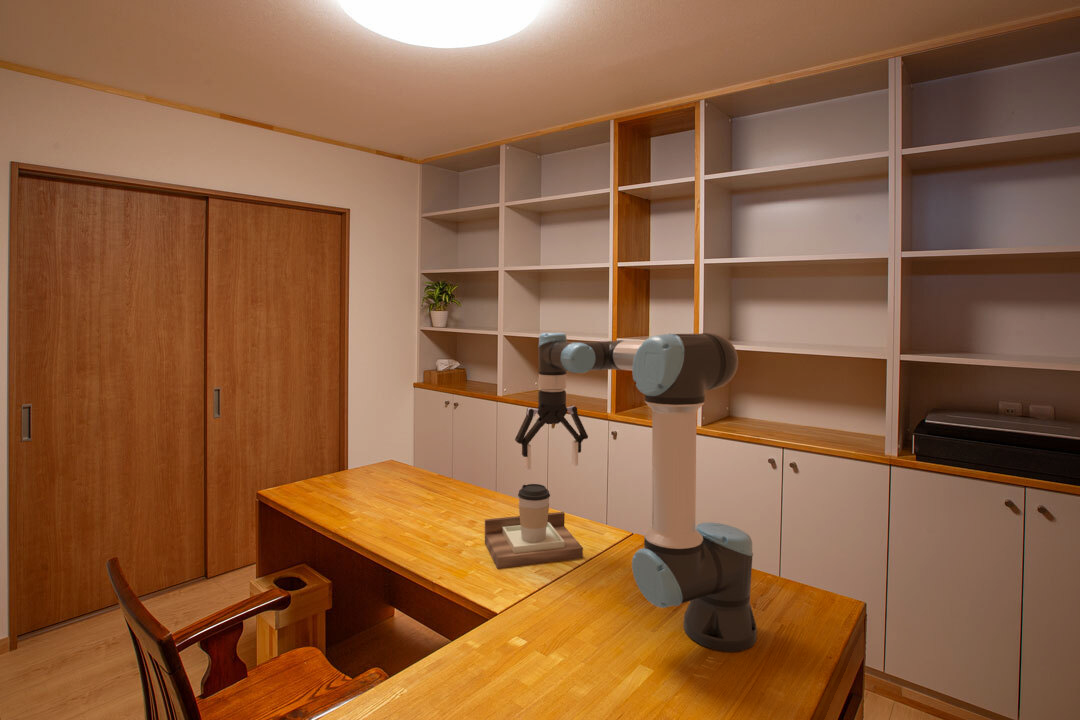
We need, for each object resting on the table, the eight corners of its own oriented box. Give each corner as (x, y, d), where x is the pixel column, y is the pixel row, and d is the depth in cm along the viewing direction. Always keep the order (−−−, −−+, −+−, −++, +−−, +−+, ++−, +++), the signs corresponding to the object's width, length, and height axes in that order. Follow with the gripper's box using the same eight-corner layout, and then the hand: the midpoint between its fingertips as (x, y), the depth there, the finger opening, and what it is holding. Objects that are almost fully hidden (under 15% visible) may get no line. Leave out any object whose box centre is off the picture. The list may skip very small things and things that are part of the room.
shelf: (582, 558, 164) (583, 533, 164) (497, 568, 158) (497, 543, 157) (562, 534, 181) (563, 511, 180) (484, 542, 174) (484, 519, 173)
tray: (564, 547, 164) (564, 541, 164) (514, 553, 160) (514, 546, 160) (548, 528, 178) (549, 522, 177) (502, 532, 174) (502, 526, 173)
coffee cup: (552, 533, 172) (552, 482, 171) (546, 545, 164) (547, 492, 162) (521, 530, 174) (522, 480, 172) (514, 542, 165) (514, 490, 164)
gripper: (589, 386, 169) (588, 459, 171) (504, 389, 162) (504, 466, 164) (600, 389, 162) (599, 466, 164) (511, 393, 155) (511, 473, 157)
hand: (551, 466), depth 164 cm, fingers open, 13 cm apart
